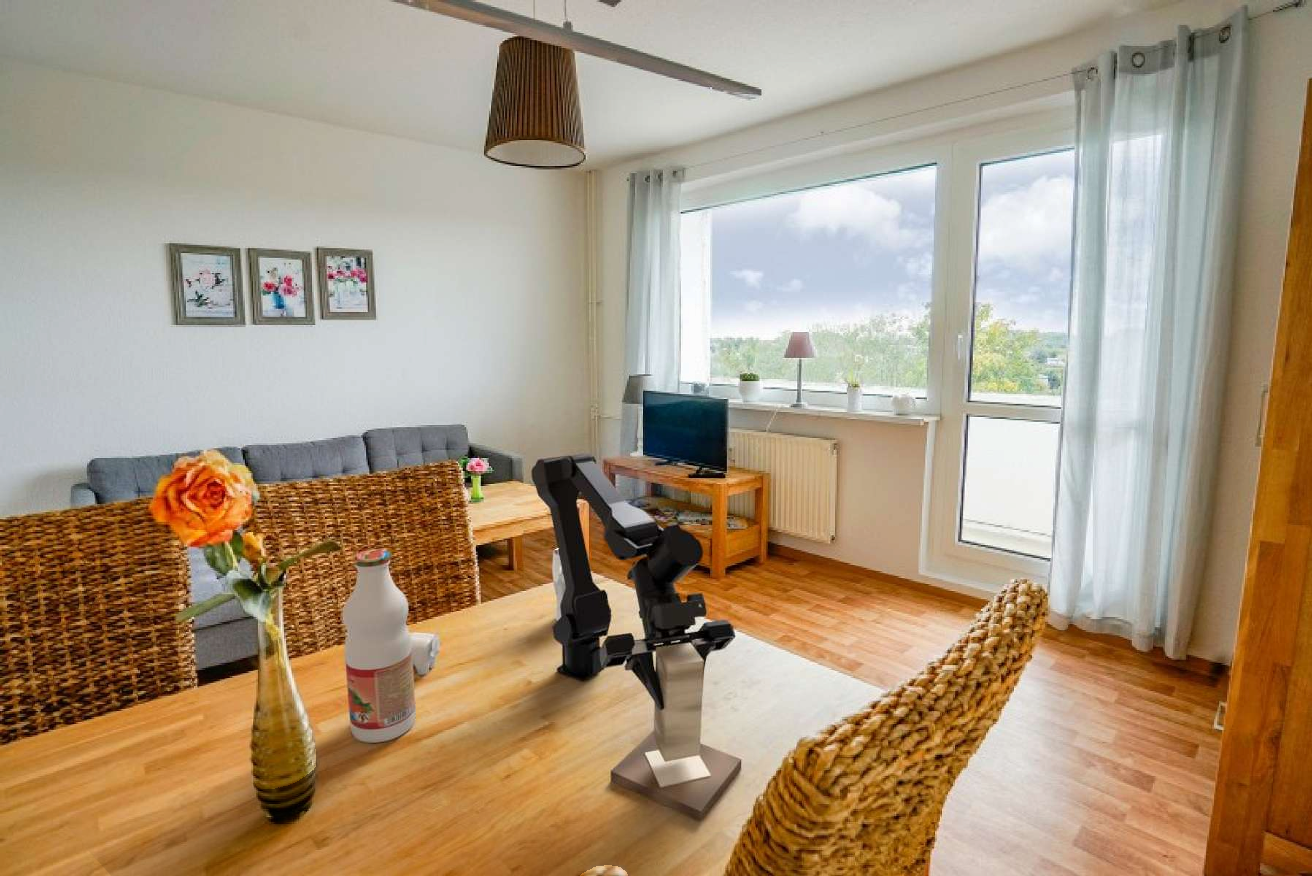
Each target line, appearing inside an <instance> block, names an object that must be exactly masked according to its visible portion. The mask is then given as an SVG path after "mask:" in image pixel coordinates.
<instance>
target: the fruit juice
mask: <svg viewBox="0 0 1312 876" xmlns="http://www.w3.org/2000/svg"><path fill="white" fill-rule="evenodd" d="M353 561H354V562H353V563H354V568H355V569H356V570H357V575H356V576H357V577H356V582H355V585H354V589H353V591H352V593H351V594H350V595H349V597H348V598H347V600H346V601H345V603H344V605H343V609H342V620H343V625H344V626H345V629H346V631H347V636H346V638H345V641H344V664H345V674H346V675H345V676H346V689H347V698H348V699H347V700H348V709H349V710H348V711H349V713H348V714H349V723H350V724H349V725H350V730H351V733H352V735H353V737H354V738H355V739H357V740H358V741H360V742H363V743H369V744H370V743H372V744H374V743H375V744H376V743H383V742H387V741H391V740H393V739H397V738H399V737H401V736H402V735H404V734H405V733H407V732H408V731H409V730H410V729H411V728H412V727H413V725H414V723H415V721H416V715H417V713H416V710H417V709H416V695H415V680H414V679H415V678H414V671H413V668H414V667H413V660H412V643H411V636H410V633H411V632H410V630H409V629H410V628H408V626H407V619H408V615H409V602H408V600H407V599H408V598H407V597H406V595H405V594H404V593H403V592H402V590H400V589H399V588H398V586H397V585H396V584H395V582H394V581H393V578H392V576H391V573H390V569H389V565H390V563H391V554H390V552H389V550H386V549H381V548H379V549H378V548H377V549H376V548H374V549H367V550H363V551H361V552H358V553H356V554H355V555H354V560H353Z"/></svg>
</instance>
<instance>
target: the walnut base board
mask: <svg viewBox="0 0 1312 876" xmlns="http://www.w3.org/2000/svg"><path fill="white" fill-rule="evenodd" d="M741 770H742V758H739V757H736V756H735V755H732V754H729V753H727V752H725V751H721V750H718V749H717V748H713V747H712V746H709V745H705V744H703V743H701V742H700V755H698V756H693V757H688V758H682V759H677V760H672V761H667V762H665V761H664V759H663V757H662V755H661V753H660V751H659V749H658V747H657V745H656V743H655V741H654V729H653V730H652V731H651V732H650V733H649V734H648V735H647V736H646V737H645V738H644V739H643V740H642V741H641V742H639V744H637V745H636V746H635V747H634V748H633V749H632V750H631V751H630V752H629V753H628V754H627V755H626V756H625V757H624V758H622V759H621V761H620V762H618V763H617V764H616V765H615V766H614V767H613V768H612V769H611V770H610V781H611V782H612V783H615V784H618V785H619V786H622V787H623V788H626V789H628V790H630V791H632V792H635V793H637V794H639V795H641V796H643V797H645V798H647V799H650V800H652V801H654V802H656V803H659V804H660V805H663V806H665V807H667V808H669V809H672V810H673V811H676V812H678V813H680V814H682V815H685V816H687V817H689V818H691V819H694V820H696V821H698V822H702V821H703V819H705V817H706V815H707V814H708V813H709V812H710V810H711V809H712V808H713V807H714V805H715V804H716V802H717V801H718V799H720V797H721V796H722V794H723V793H724V792H725V791H726V789H727V788H728V787H729V785H730V784H731V783H732V781H733V780H734V779H735V777H736V776H737V775H738V774H739V772H740V771H741Z"/></svg>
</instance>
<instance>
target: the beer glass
mask: <svg viewBox="0 0 1312 876" xmlns="http://www.w3.org/2000/svg"><path fill="white" fill-rule="evenodd" d="M551 570H552V581H553V586H554V591H555V595H556V596H555V597H556V603H557V605H556V606H557V607H556V612H555V621H556V622H557V621H558V620H559V619H560V618H561V609H560V604H561V601H562V598H563V595H564V592H565V589H566V587H565V581H564V576H563V571H562V566H561V561H560V556H559V551H558V547H556V548H555V549H553V551H552V569H551Z"/></svg>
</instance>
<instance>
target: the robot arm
mask: <svg viewBox="0 0 1312 876" xmlns="http://www.w3.org/2000/svg"><path fill="white" fill-rule="evenodd" d="M531 479H532V482H533V484H534V487H535V489H536V492H537V496H538V497H539V498H540V499H541V501H543V502H544V504H545V505H546V506H547V507H548V508H549V510H550V515H551V521H552V526H553V531H554V536H555V539H556V546H557V548H558V551H559V556H560V561H561V566H562V571H563V576H564V581H565V587H566V589H565V592H564V595H563V598H562V601H561V604H560V609H561V618H560V619H559V620H558V621H556V622H555V623H554V625H552V634H553V635H552V636H553V639H554V640H555V641H556V642H557V643H559V644H560V645H561V654H562V655H561V657H562V660H561V661H562V664H561V665H559V666H558V667H556V672H557V673H560V674H561V675H562V674H563V675H566V676H568V677H570V678H573V679H576V680H579V681H582V682H585V681H587V680H589V679H590V678H592V677H593V676H594V675H595V674H597V673H598V672H600V671H601V670H602V669H604V668H612V667H613V668H614V667H619V666H623V664H624V663H625V662H626V663H625V665H624V670H625V671H632V673H633V674H634V675H635V676H636V677H637V679H638V680H639V682H640V683H642V685H643V686H644V688H645V689H646V691H647V692H648V694H649V696H650V697H651V699H652V700H653V703H654V704H655V703H656V705H657V706H658V708H659V710H663V709H664V703H663V697H662V693H661V689H660V686H659V682H658V679H657V675H656V672H655V670H656V668H655V665H654V664H655V663H654V653H656V647H663V646H670V645H677V644H685V643H691V644H692V646H693V647H694V648H695V650H696V651H697V652H698V654H699V655H700V656H701V658H702V659H703V660H704V666H703V681H704V678H705V677H704V676H705V667H706V661H707V657H708V656H709V655H710V654H711V653H712V652H717V651H722V650H724V649H726V648H727V647H728V646H729V644H731V642H733V640H734V639H735V638H736V634H735V630H734V626H733V625H732V623H730V622H729V621H728V620H727V619H721V620H713V621H707V622H704V623H703V624H702V625H701V627H700V628H699V629H698V630H697V631H690V632H686V630H689V629H690V628H691V627H692V626H696V624H697V623H696V618H701V617H706V616H707V606H706V605H707V604H706V600H705V598H704V595H703V592H698V593H691V594H687V595H686V601H682V600H681V599H682V598H681V595H680V594H679V592H678V593H677V592H676V588H675V583H677V582H679V581H681V579H683V578H684V577H685V576H686V575H687V574H688V573H690V572H691V571H692V570H693V569H694V568H695V567H696V566H698V564H699V563H700V562H701V561H702V559H703V557H704V556H703V555H704V549H703V546H702V543H701V542H700V540H699V539H697V538H696V537H695V535H694V534H692V533H691V532H689V531H687V530H684V529H682V527H680V525H679V523H677V522H676V523H673V524H668V525H666V526H665V527H664V528H663V527H661V526H660V525H659V524H658V523H657V521H655V520H654V519H653V517H652V516H650V515H649V513H647V512H646V511H644V510H643V509H641V508H639V507H637V506H636V507H635V506H633V505H632V504H630V503H628V502H627V500H626V499H624V497H623V496H622V494H621V493H620V492H619V491H618V490H617V488H616V487H615V486H614V485H613V484H612V482H611V481H610V479H609V478H608V477H607V476H606V474H604V472H603V471H602V470H601V468H600V467H599V466H598V465H597V460H596V458H595V456H594V455H592V454H589V453H580V454H573V455H562V456H556V457H547V458H540V459H538V460H536V462H535V465H533V467H532V468H531ZM580 494H581V495H582V496H583V498H584V499H585V501H586V502H587V503H588V504H589V506H590V507H591V508H592V510H593V512H595V515H597V517H598V518H599V520H600V521H601V522H602V524H603V526H604V540H605V542H606V543H607V545H608V547H609V550H610V551H611V553H612V554H613V555H614V557H615V558H617V560H619V561H627V560H631V559H635V558H639V557H641V558H640V559H639V560H638V561H634V562H632V565H631V568H630V570H628V572H627V575H626V578H627V580H629V581H633V583H634V588H635V594H636V597H637V603H638V608H639V611H638V615H639V619H641V623H642V627H643V632H644V636H645V637H644V638H643V639H641V638H640V639H635V638H634V636H633V634H632V633H631V632H627V633H620V634H613V635H608V633H609V631H610V630H609V629H610V625H611V621H612V610H611V607H610V603H609V598H608V593H607V591H606V590H605V589H600V588H599V586H597V585H596V584H595V583H596V582H595V583H594V581H593V574H592V571H591V566H590V560H589V556H588V551H587V547H586V542H585V537H584V532H583V526H582V521H581V517H580V513H579V509H578V503H577V502H578V499H579V497H580ZM643 556H644V557H643ZM602 637H606V638H604V641H603V642H602V645H601V643H600V641H601V639H600V638H602ZM703 689H704V688H703ZM703 689H702V694H703V691H704V690H703Z"/></svg>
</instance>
